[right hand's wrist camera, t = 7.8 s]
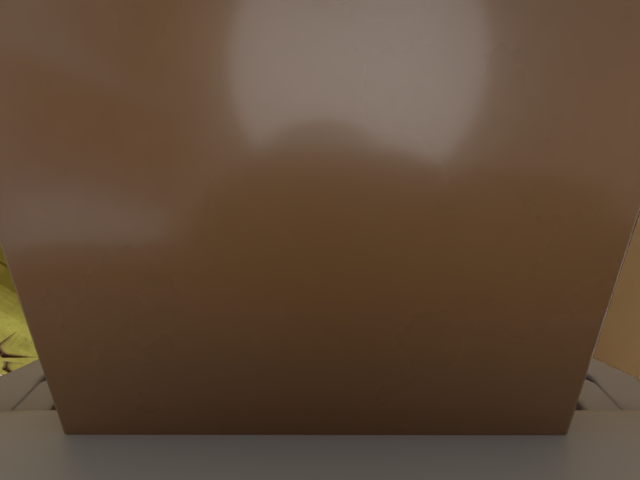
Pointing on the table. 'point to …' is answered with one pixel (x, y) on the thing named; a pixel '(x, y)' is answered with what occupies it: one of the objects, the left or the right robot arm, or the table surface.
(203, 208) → the box
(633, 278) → the table surface
